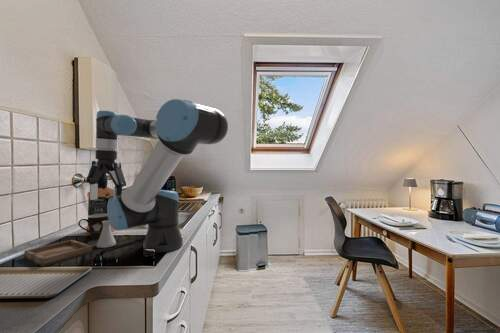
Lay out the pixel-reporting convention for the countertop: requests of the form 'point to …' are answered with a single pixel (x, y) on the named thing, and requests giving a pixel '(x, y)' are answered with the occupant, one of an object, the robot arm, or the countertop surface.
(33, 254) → the walnut tray
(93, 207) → the whiskey bottle
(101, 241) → the flask
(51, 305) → the countertop surface
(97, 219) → the coffee mug
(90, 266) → the countertop surface
